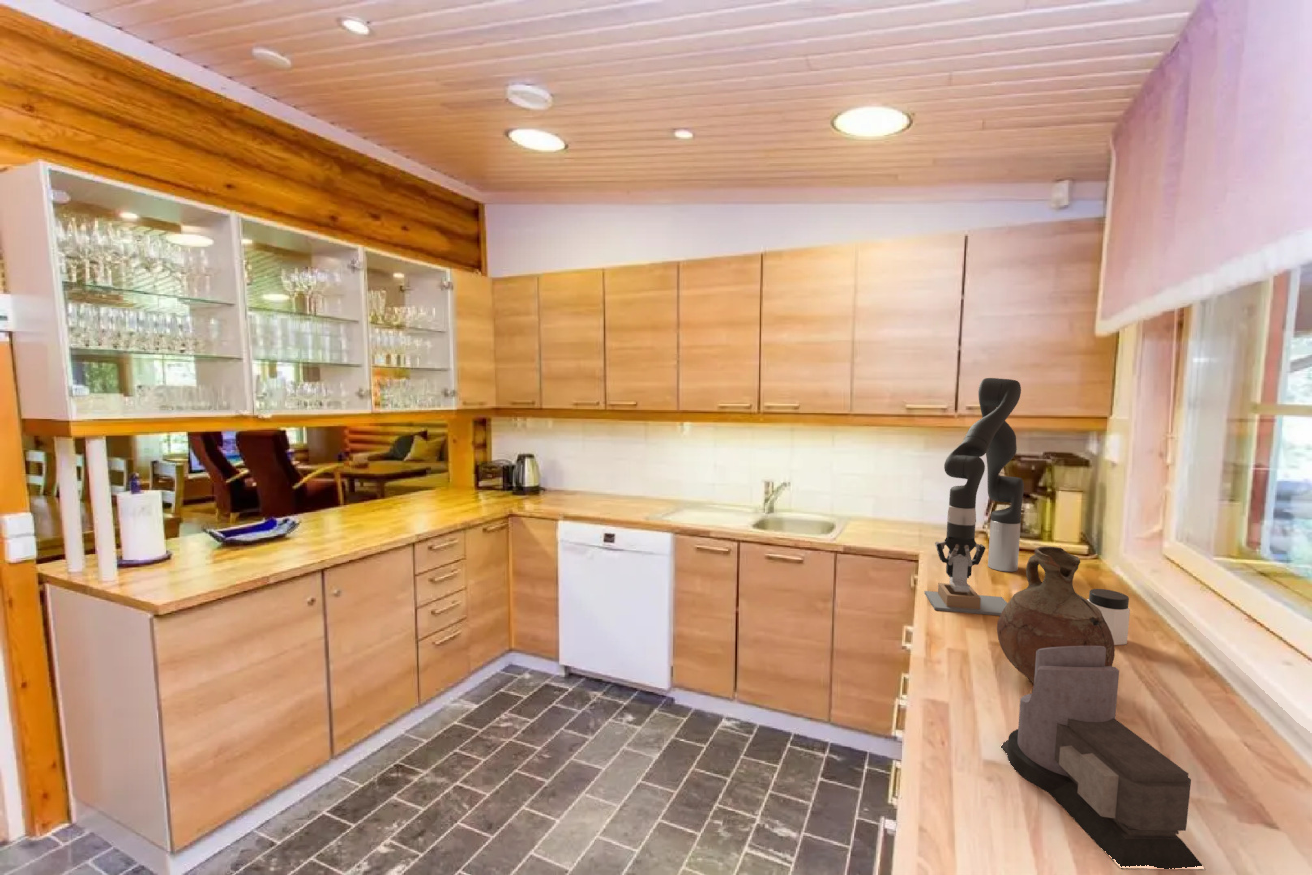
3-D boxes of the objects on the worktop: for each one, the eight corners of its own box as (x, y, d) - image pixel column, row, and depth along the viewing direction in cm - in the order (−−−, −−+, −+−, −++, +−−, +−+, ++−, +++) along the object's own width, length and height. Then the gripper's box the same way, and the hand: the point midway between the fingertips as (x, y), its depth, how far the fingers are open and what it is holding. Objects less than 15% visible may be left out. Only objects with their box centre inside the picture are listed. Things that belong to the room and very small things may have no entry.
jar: (1131, 640, 151) (1134, 595, 150) (1122, 649, 146) (1126, 602, 145) (1089, 628, 158) (1092, 585, 157) (1080, 636, 153) (1083, 592, 152)
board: (924, 593, 184) (925, 580, 184) (1001, 599, 179) (1002, 586, 179) (934, 609, 171) (935, 596, 170) (1018, 617, 166) (1019, 602, 165)
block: (949, 584, 178) (951, 552, 177) (963, 585, 177) (965, 553, 177) (954, 591, 173) (956, 558, 172) (969, 592, 172) (971, 559, 171)
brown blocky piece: (984, 736, 110) (992, 611, 107) (1070, 737, 110) (1079, 612, 107) (1105, 869, 80) (1119, 700, 78) (1223, 871, 80) (1240, 701, 77)
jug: (1056, 716, 116) (1066, 570, 113) (971, 666, 137) (978, 541, 134) (1136, 701, 122) (1149, 562, 119) (1043, 655, 143) (1052, 535, 140)
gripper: (983, 519, 177) (980, 574, 178) (932, 517, 180) (930, 571, 182) (991, 525, 169) (988, 582, 171) (938, 522, 173) (935, 578, 174)
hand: (958, 576), depth 176 cm, fingers closed on block, 4 cm apart
